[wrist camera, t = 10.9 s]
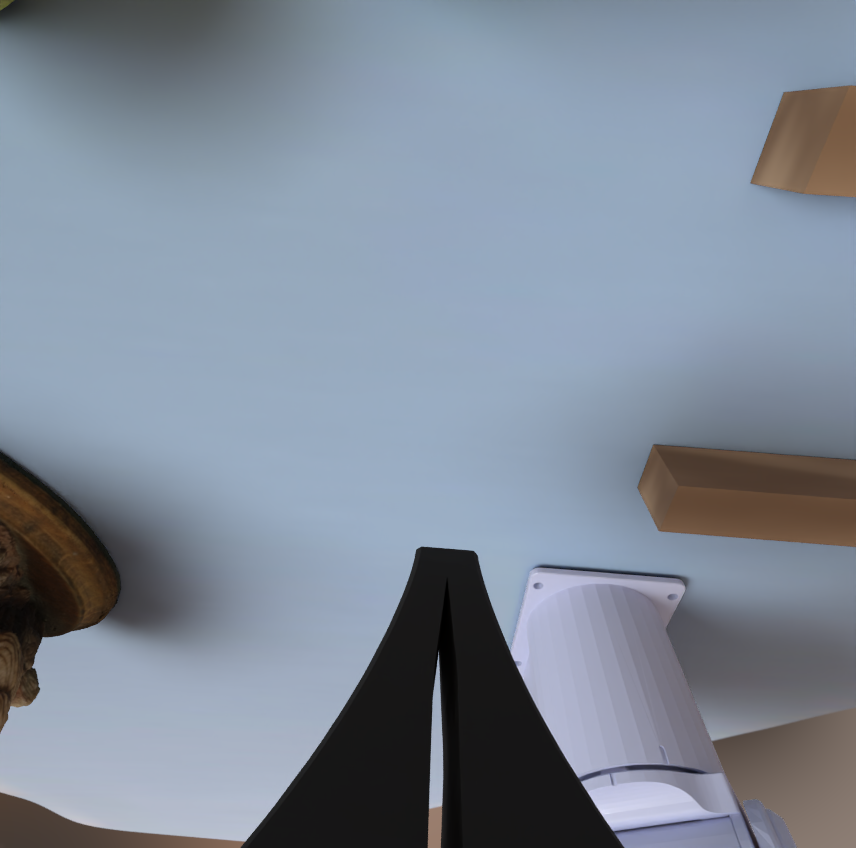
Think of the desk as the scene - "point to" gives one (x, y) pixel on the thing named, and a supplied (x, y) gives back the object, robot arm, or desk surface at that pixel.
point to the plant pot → (5, 3)
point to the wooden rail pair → (761, 472)
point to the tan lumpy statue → (43, 578)
